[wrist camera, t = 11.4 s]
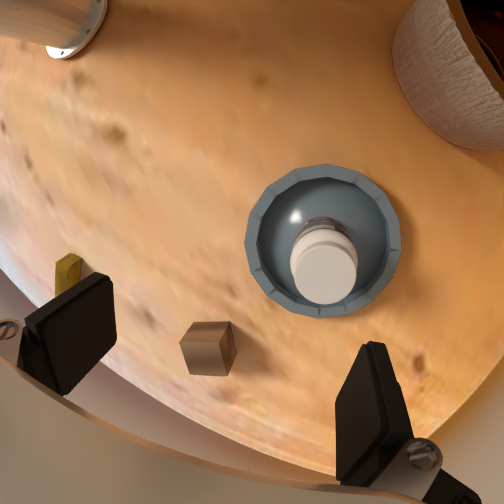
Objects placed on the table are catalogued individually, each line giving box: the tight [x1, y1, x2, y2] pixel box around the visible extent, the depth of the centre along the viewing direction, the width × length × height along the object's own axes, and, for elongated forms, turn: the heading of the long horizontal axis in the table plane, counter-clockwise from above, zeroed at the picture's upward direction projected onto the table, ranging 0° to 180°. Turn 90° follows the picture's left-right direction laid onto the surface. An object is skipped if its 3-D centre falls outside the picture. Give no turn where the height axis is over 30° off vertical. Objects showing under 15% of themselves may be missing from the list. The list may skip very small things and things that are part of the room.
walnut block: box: [179, 321, 237, 376], centre depth 35 cm, size 5×5×5 cm
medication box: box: [55, 253, 81, 297], centre depth 39 cm, size 12×3×4 cm, turn 158°
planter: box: [392, 0, 504, 151], centre depth 15 cm, size 18×18×16 cm
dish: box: [244, 164, 401, 319], centre depth 30 cm, size 16×16×2 cm
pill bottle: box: [290, 216, 358, 304], centre depth 26 cm, size 6×6×10 cm
